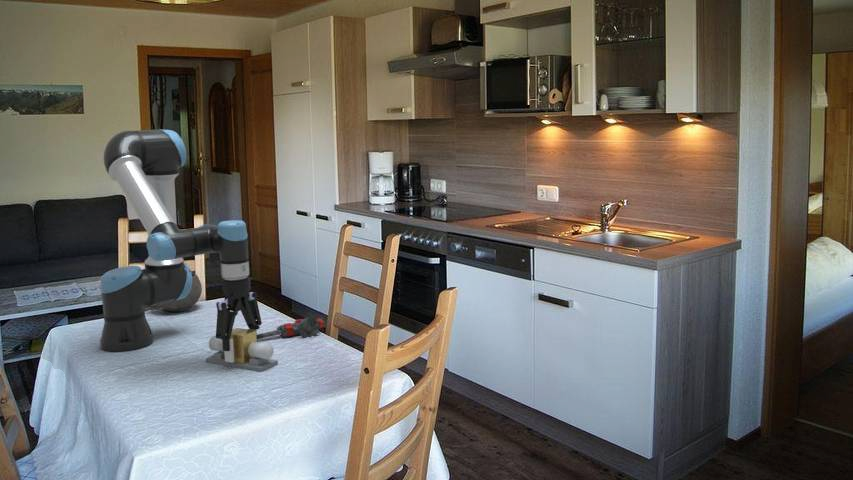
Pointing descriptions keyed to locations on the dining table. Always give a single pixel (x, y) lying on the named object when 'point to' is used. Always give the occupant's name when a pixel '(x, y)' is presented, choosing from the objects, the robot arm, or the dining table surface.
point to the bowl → (188, 300)
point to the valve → (296, 328)
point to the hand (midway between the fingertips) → (241, 356)
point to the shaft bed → (245, 366)
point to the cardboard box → (242, 344)
